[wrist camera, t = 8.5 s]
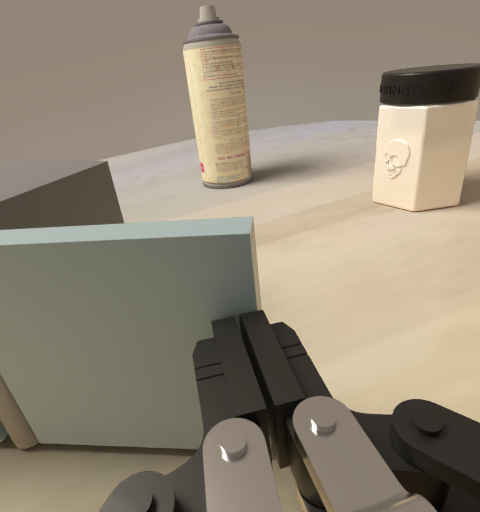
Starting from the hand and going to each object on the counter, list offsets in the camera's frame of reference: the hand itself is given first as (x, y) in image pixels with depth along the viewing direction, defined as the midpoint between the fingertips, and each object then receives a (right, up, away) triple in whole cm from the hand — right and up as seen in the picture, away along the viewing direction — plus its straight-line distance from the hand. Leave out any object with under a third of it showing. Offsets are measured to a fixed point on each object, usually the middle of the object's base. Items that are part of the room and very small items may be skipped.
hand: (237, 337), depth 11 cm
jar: (+18, +9, +27) cm, 33 cm away
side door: (-9, -6, +5) cm, 12 cm away
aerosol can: (-2, +13, +39) cm, 41 cm away
